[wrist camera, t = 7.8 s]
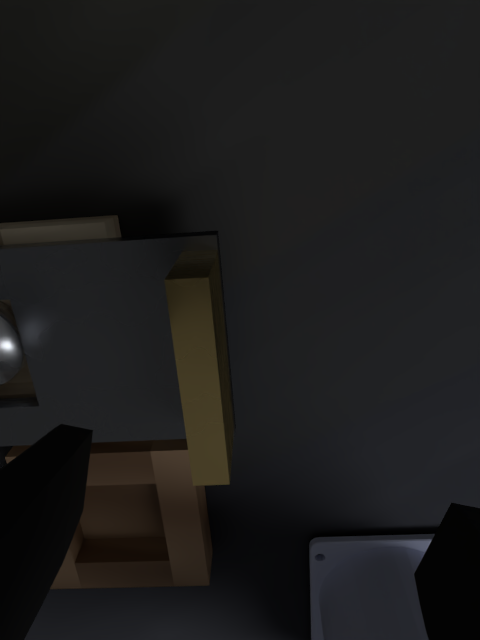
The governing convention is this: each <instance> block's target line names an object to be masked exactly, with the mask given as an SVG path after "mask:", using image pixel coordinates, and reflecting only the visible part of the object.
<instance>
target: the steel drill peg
mask: <svg viewBox="0 0 480 640" xmlns="http://www.w3.org/2000/svg"><path fill="white" fill-rule="evenodd" d="M26 364H27V360H26V356H25V353H24V349H23V346H22V342H21V338H20V335H19V331H18V328H17V324H16V320H15V317H14V313H13V310H12V306H10V305H9V304H7V303H5V302H3V301H1V300H0V385H2V384H4V383H6V382H8V381H9V380H11V379H12V378H13V377H14V376H15V375H16V374H17V373H18V372H19V371H20V370H21V369H22V368H23V367H24V366H25V365H26Z"/></svg>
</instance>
